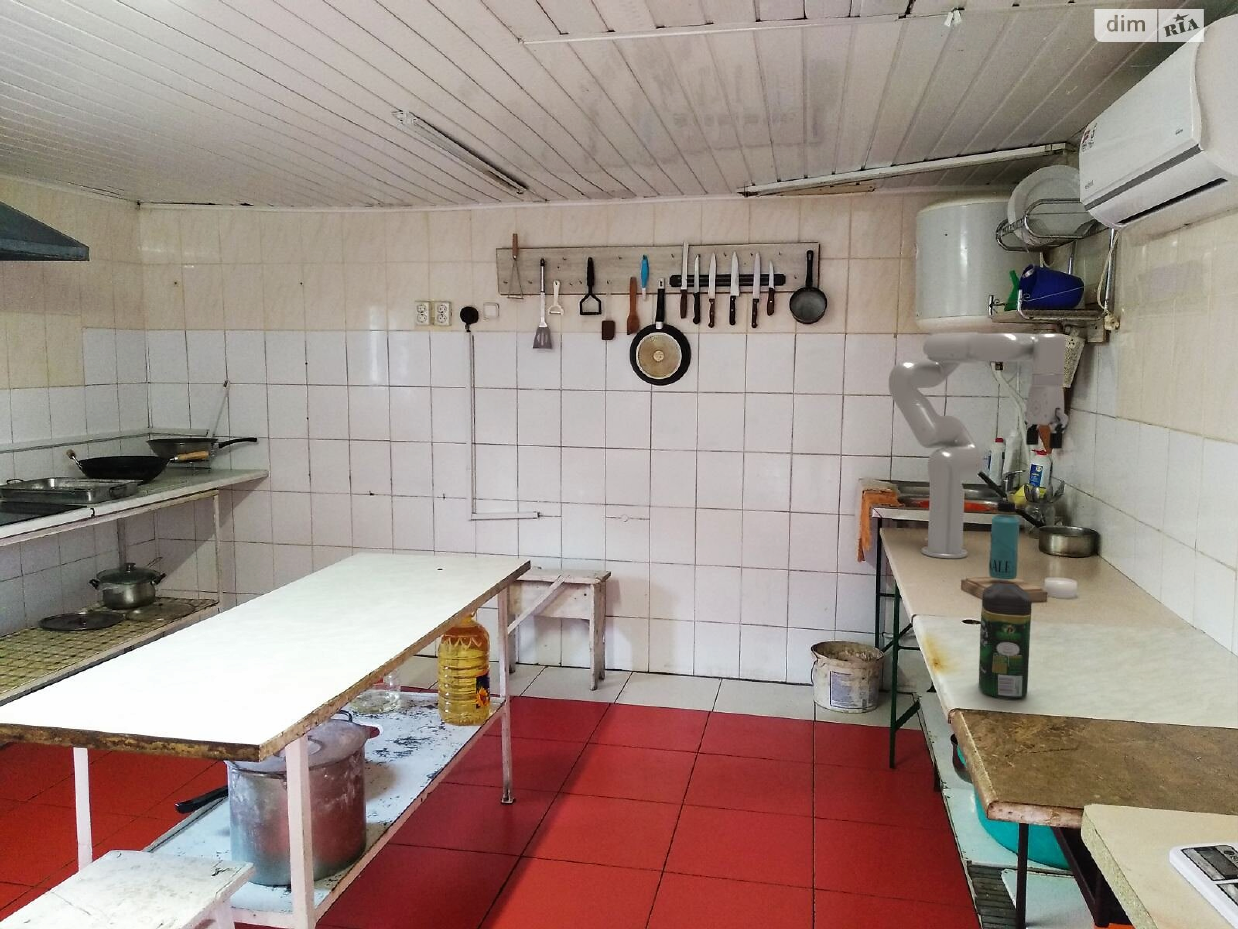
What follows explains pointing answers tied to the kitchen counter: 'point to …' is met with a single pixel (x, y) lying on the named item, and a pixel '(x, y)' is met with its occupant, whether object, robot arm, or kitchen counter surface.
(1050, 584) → the white soap bar
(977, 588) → the riser
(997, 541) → the beverage bottle
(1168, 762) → the kitchen counter surface
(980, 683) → the coffee jar
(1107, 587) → the kitchen counter surface
